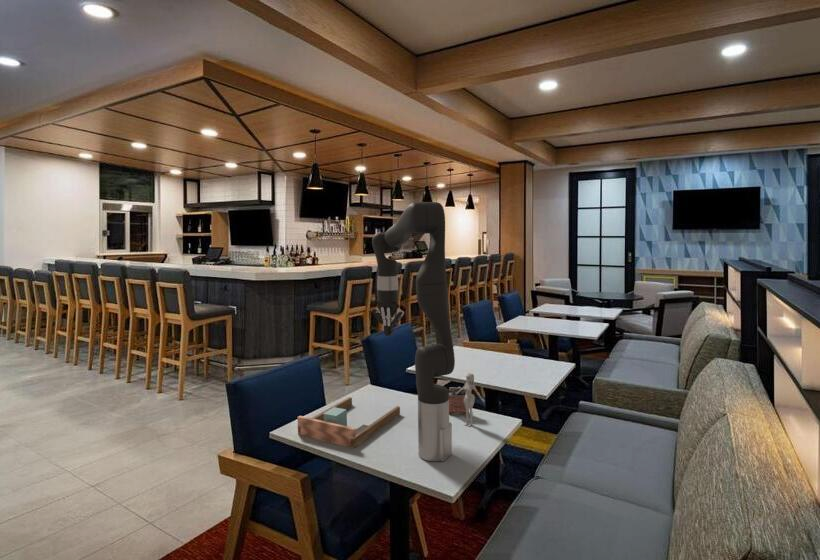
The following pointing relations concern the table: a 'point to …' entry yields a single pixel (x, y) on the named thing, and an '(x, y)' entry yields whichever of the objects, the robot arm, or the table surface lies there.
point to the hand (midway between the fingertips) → (388, 335)
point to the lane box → (341, 427)
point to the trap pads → (361, 428)
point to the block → (336, 416)
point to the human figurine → (469, 396)
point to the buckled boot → (457, 402)
